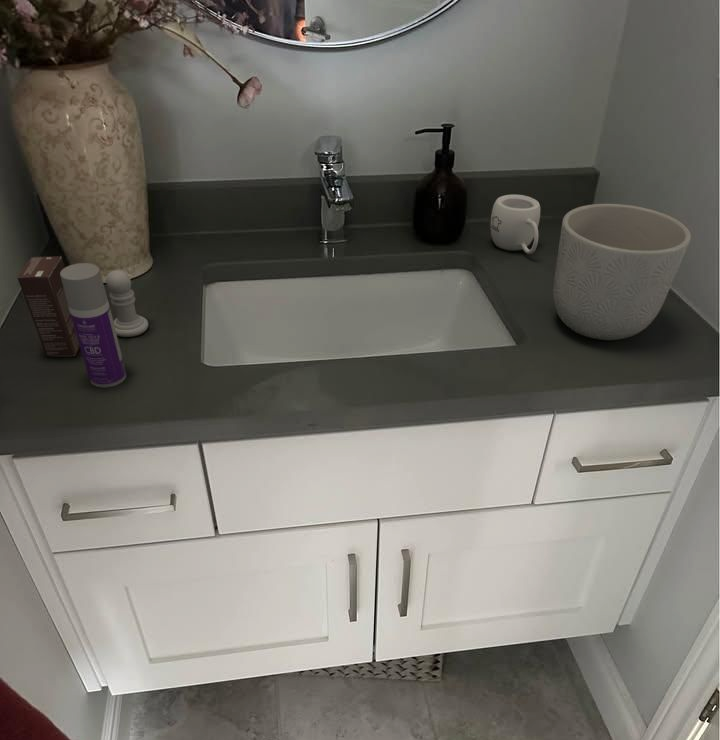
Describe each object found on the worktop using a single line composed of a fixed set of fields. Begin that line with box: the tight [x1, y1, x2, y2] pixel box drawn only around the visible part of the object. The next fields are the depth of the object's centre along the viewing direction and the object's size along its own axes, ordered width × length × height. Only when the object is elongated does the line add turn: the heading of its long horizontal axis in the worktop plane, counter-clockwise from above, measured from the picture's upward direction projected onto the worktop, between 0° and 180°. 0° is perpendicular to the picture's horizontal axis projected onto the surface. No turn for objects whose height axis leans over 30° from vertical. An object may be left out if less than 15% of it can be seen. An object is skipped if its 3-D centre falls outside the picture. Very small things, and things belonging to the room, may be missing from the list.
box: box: [17, 255, 81, 358], centre depth 93 cm, size 6×4×12 cm
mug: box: [489, 194, 541, 255], centre depth 122 cm, size 12×8×8 cm
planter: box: [552, 203, 692, 341], centre depth 100 cm, size 17×17×15 cm
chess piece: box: [105, 269, 149, 338], centre depth 98 cm, size 5×5×9 cm
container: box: [60, 262, 127, 389], centre depth 87 cm, size 5×5×15 cm
